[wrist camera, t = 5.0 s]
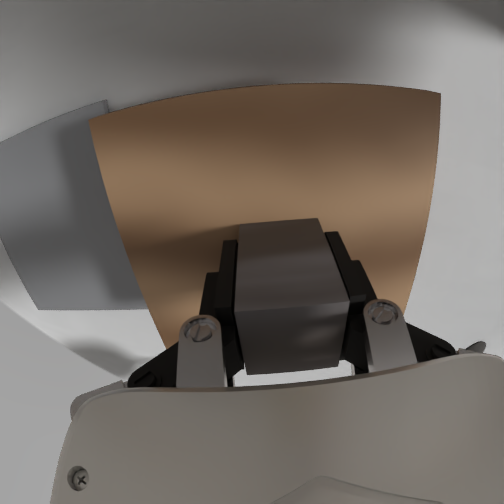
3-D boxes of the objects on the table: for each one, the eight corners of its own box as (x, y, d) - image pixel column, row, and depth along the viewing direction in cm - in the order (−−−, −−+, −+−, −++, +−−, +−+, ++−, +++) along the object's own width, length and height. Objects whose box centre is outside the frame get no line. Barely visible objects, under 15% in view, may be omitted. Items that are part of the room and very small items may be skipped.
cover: (99, 115, 10) (5, 159, 5) (428, 90, 10) (528, 121, 5) (172, 344, 18) (155, 428, 13) (391, 325, 17) (421, 404, 12)
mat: (-24, 155, 15) (-28, 158, 15) (106, 99, 15) (102, 100, 14) (40, 305, 24) (38, 309, 24) (163, 303, 24) (161, 308, 23)
